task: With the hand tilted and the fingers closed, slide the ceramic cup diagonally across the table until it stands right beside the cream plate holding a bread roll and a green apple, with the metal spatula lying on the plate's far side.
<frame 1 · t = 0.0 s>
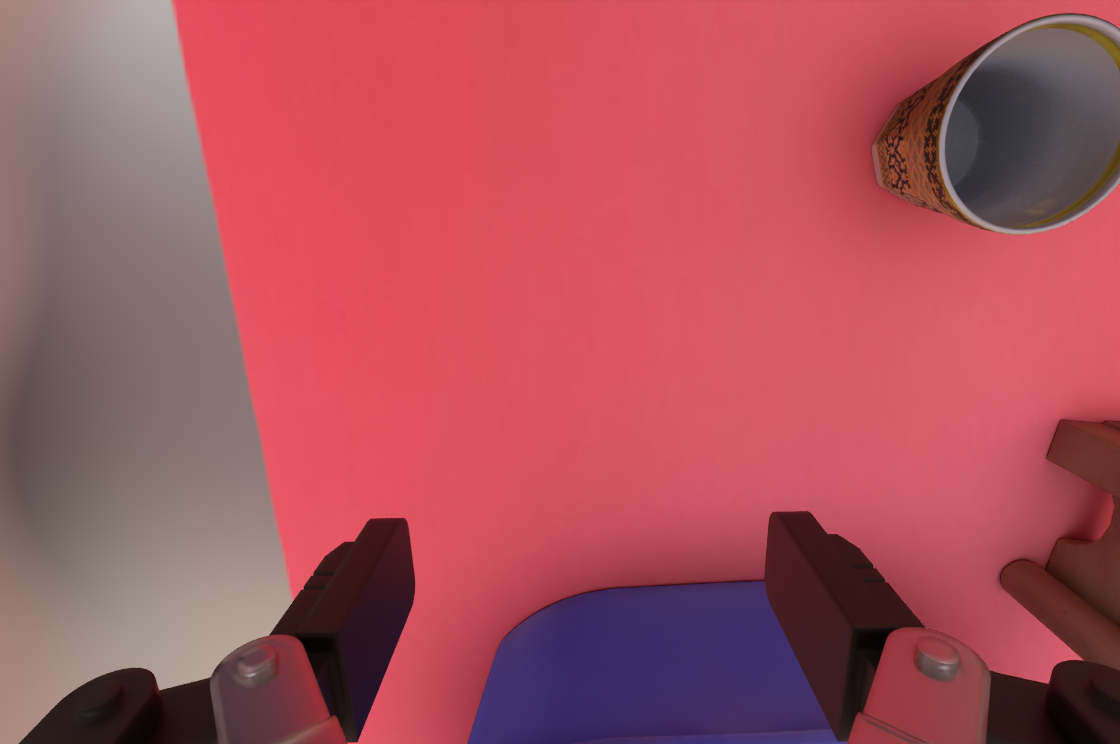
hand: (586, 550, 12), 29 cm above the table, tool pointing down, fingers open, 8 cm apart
wooden toy: (1063, 509, 44), on the table
blue plastic tub: (697, 711, 51), on the table
ceramic cup: (943, 141, 37), on the table
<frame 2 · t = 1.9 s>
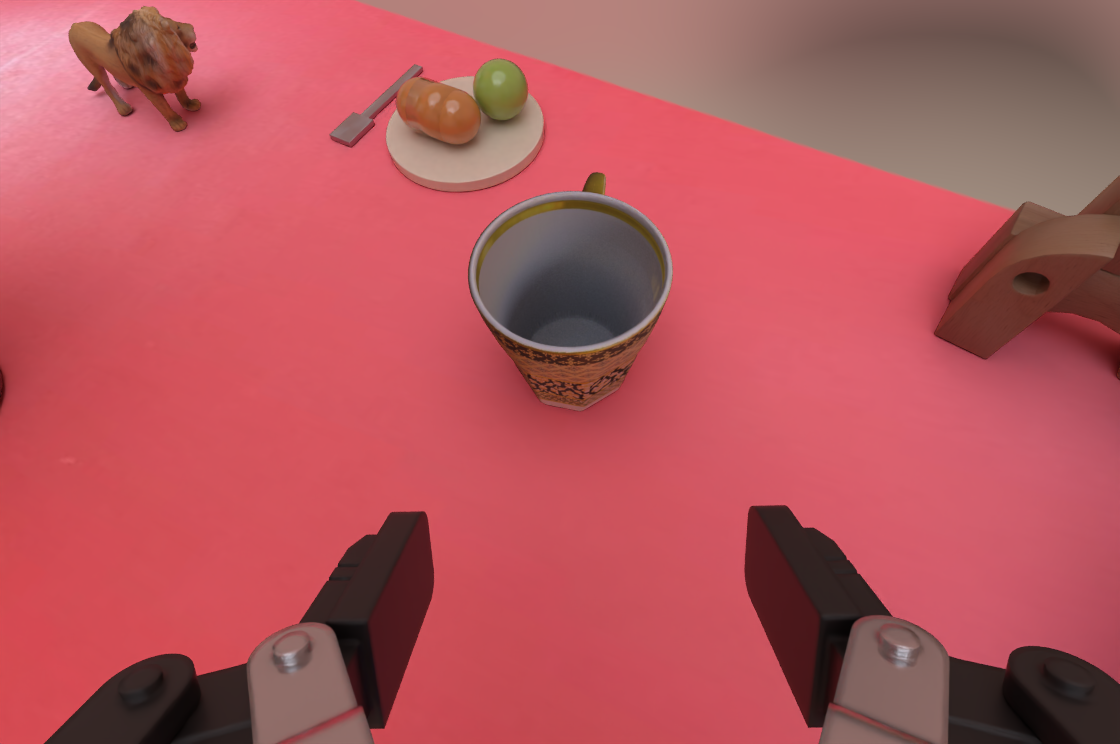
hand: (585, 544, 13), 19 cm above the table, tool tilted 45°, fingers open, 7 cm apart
metal spatula: (382, 104, 49), on the table
lunch plate: (466, 135, 47), on the table
wooden toy: (1068, 361, 35), on the table
lion figurine: (169, 108, 51), on the table
ceramic cup: (578, 346, 37), on the table
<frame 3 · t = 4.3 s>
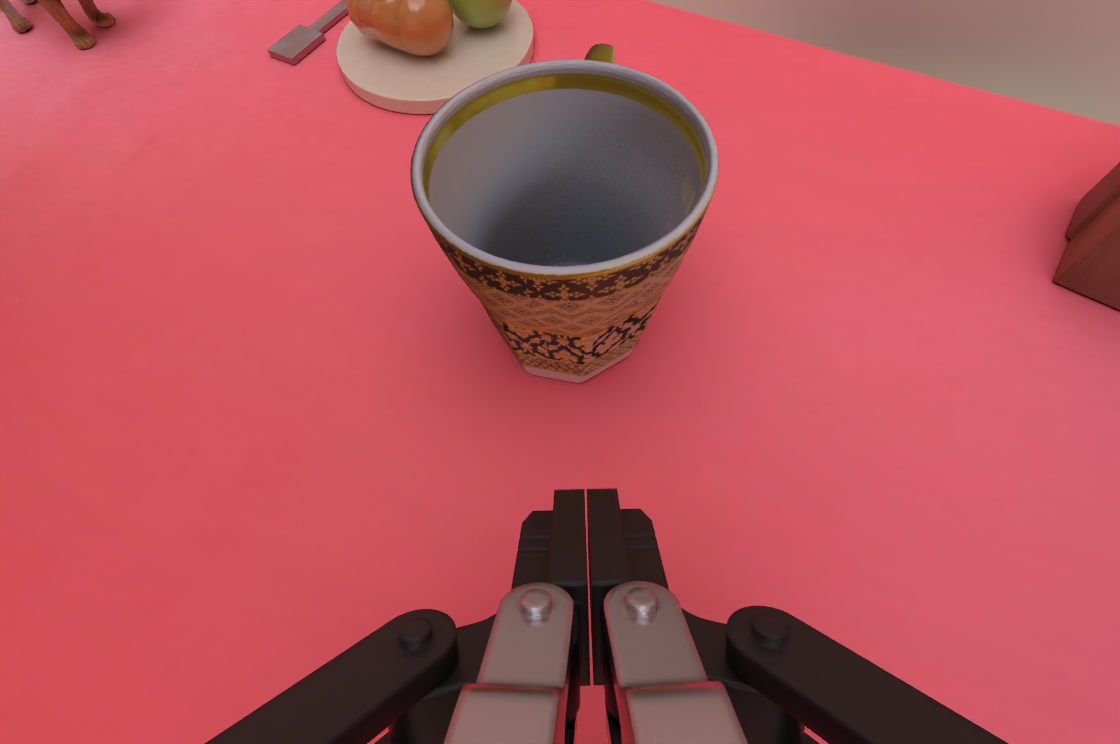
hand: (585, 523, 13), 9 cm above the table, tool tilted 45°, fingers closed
metal spatula: (336, 17, 40), on the table
lunch plate: (438, 51, 38), on the table
lion figurine: (77, 25, 41), on the table
ceramic cup: (576, 299, 28), on the table
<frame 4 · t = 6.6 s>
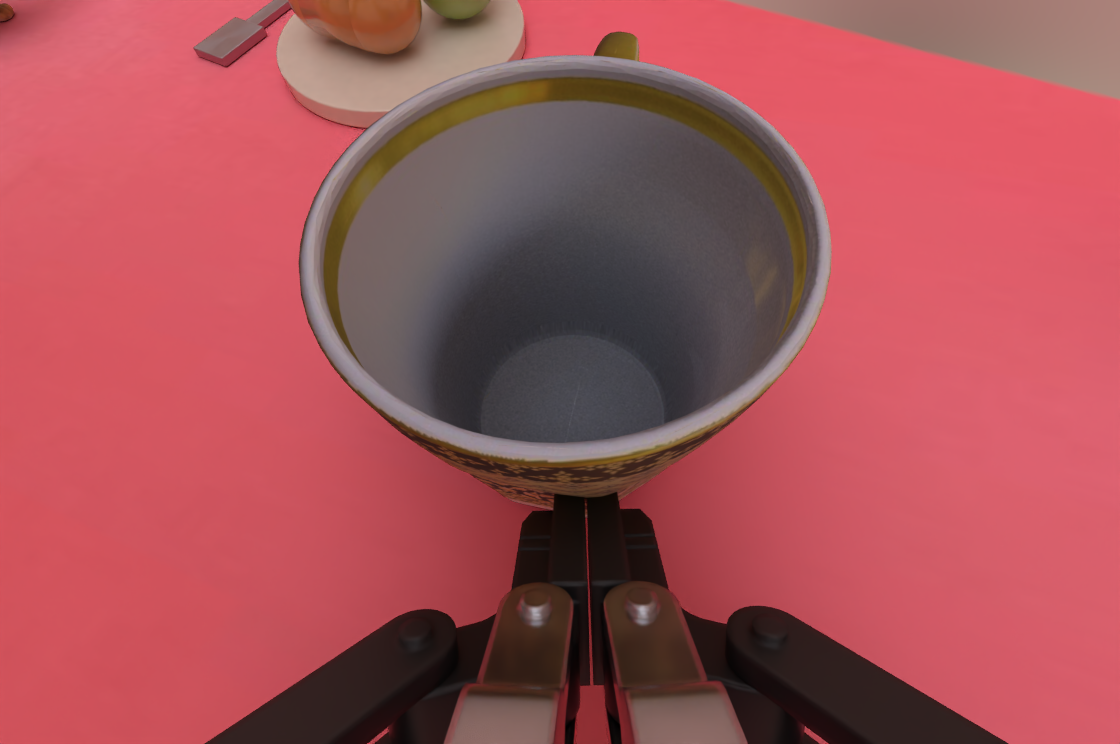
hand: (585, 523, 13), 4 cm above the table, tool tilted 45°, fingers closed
metal spatula: (282, 8, 33), on the table
lunch plate: (406, 48, 30), on the table
ceramic cup: (581, 386, 20), on the table, touching gripper
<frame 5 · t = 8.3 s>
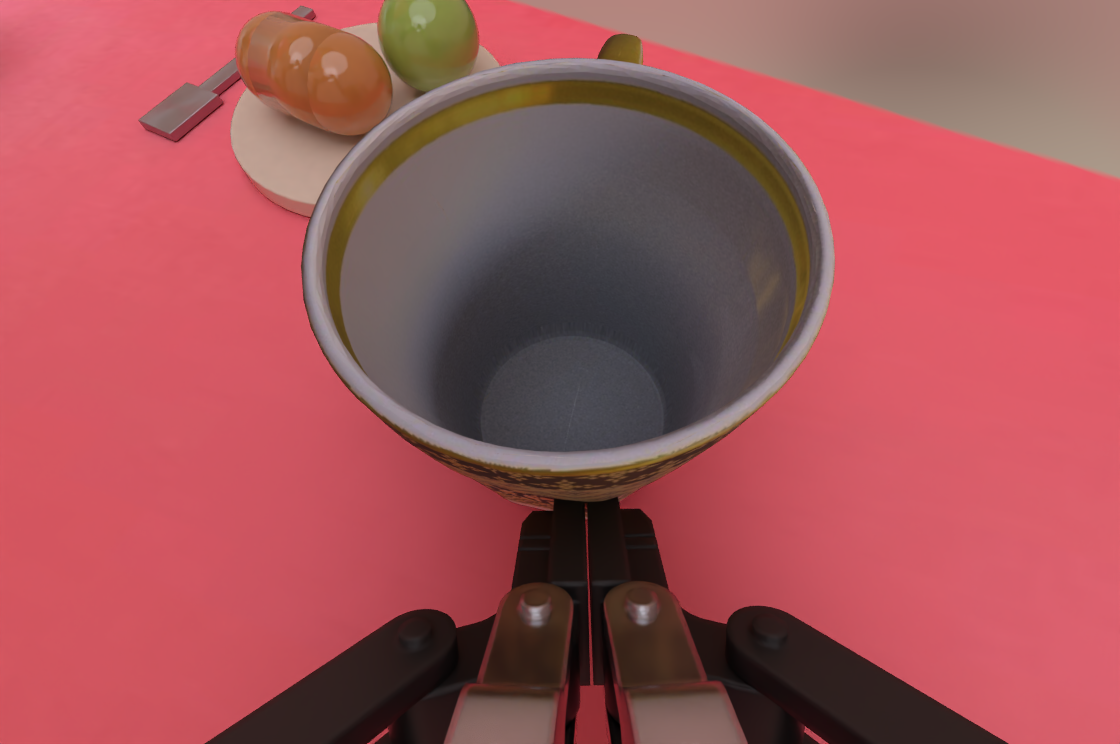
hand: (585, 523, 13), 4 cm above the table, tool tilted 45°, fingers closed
metal spatula: (241, 69, 29), on the table
lunch plate: (377, 121, 27), on the table
ceramic cup: (580, 387, 20), on the table, touching gripper
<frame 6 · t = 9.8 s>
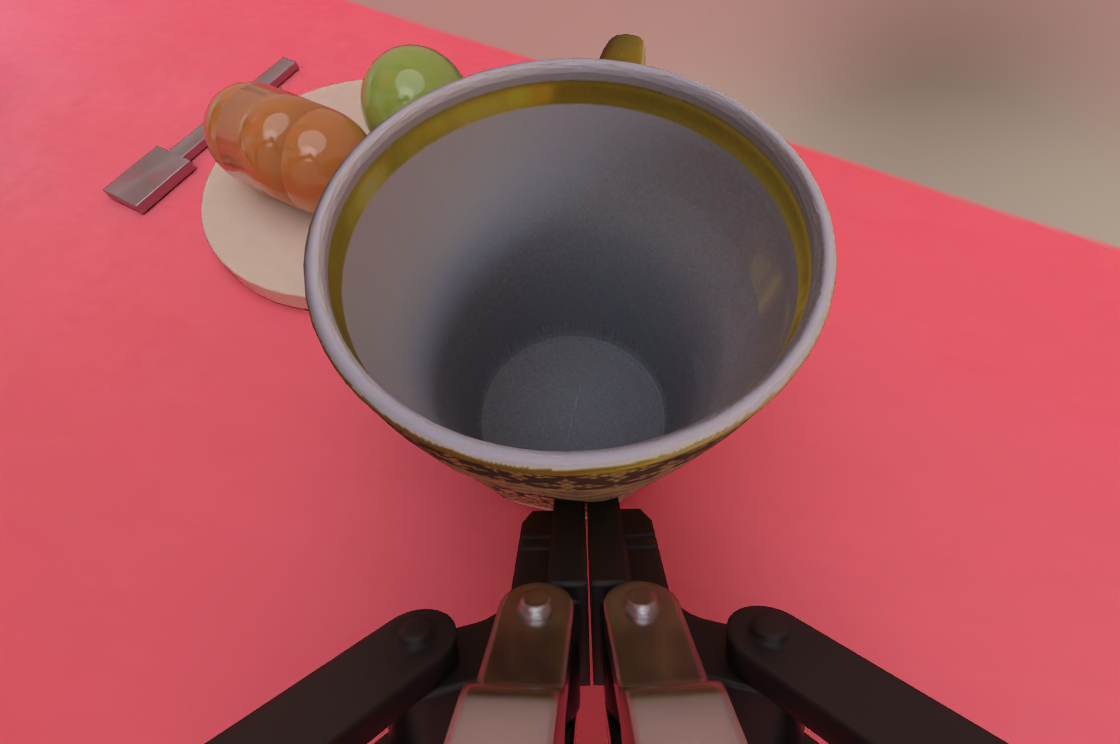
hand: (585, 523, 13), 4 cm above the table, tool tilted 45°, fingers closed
metal spatula: (217, 129, 27), on the table
lunch plate: (362, 190, 25), on the table
ceramic cup: (582, 387, 20), on the table, touching gripper
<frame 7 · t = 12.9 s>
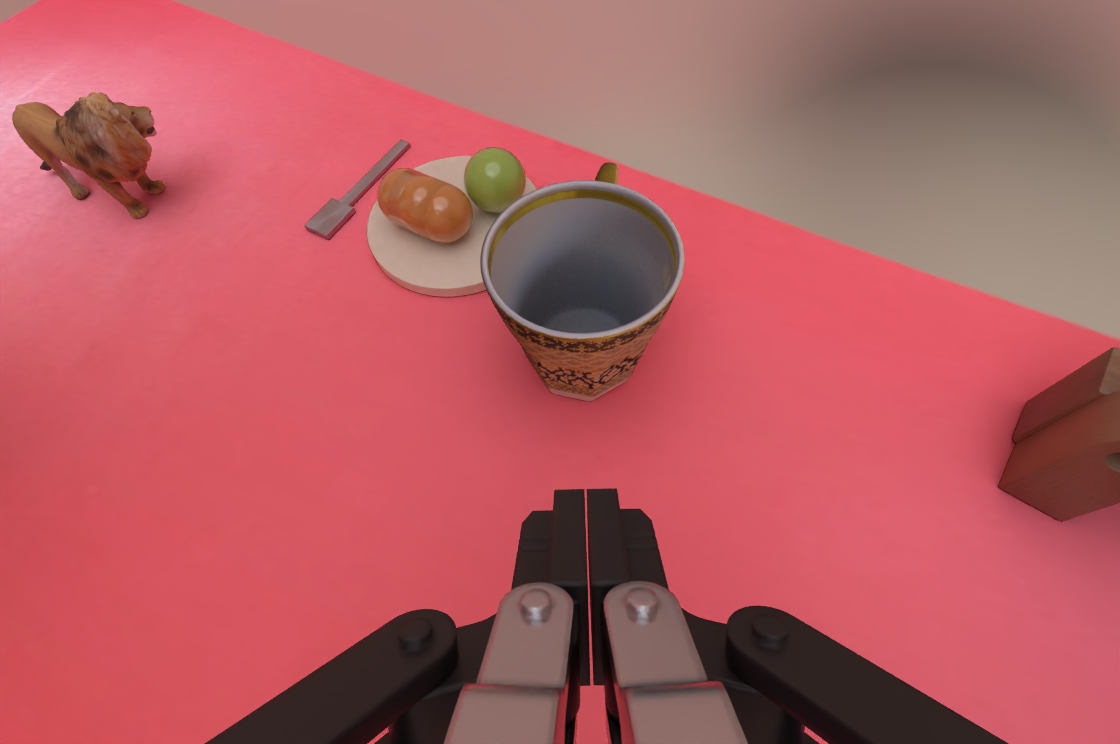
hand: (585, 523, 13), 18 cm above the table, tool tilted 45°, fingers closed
metal spatula: (364, 187, 44), on the table
lunch plate: (457, 226, 42), on the table
lion figurine: (129, 189, 46), on the table
ceramic cup: (587, 337, 37), on the table
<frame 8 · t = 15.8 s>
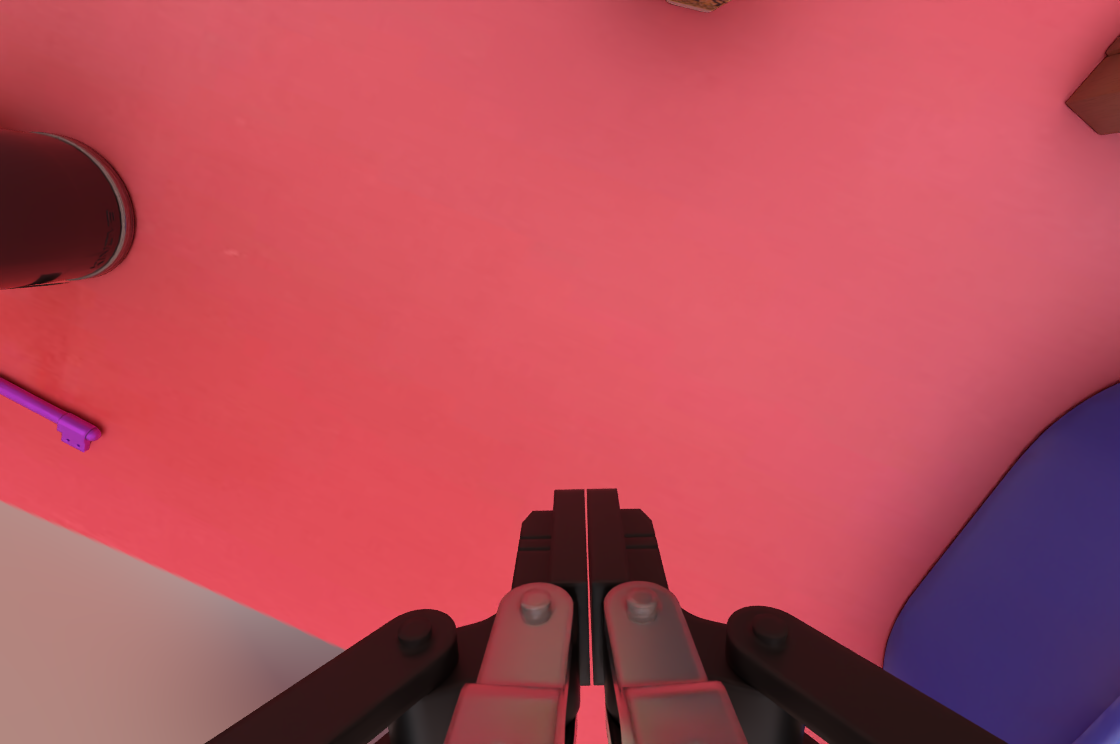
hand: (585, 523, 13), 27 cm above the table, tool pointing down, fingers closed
blue plastic tub: (1104, 593, 45), on the table
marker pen: (3, 387, 42), on the table
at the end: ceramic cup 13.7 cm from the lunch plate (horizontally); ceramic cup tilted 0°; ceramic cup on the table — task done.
